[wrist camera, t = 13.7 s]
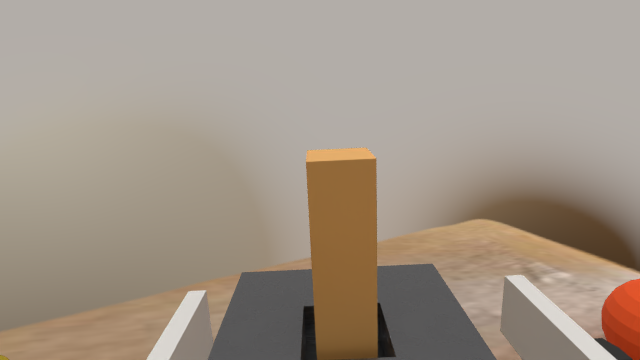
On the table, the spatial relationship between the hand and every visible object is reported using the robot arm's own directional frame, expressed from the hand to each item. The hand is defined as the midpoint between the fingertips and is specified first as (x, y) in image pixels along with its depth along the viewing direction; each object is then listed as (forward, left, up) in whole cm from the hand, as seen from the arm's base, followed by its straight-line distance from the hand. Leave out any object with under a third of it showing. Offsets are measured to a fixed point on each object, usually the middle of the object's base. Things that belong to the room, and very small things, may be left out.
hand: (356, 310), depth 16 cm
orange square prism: (-6, +5, -10) cm, 13 cm away
